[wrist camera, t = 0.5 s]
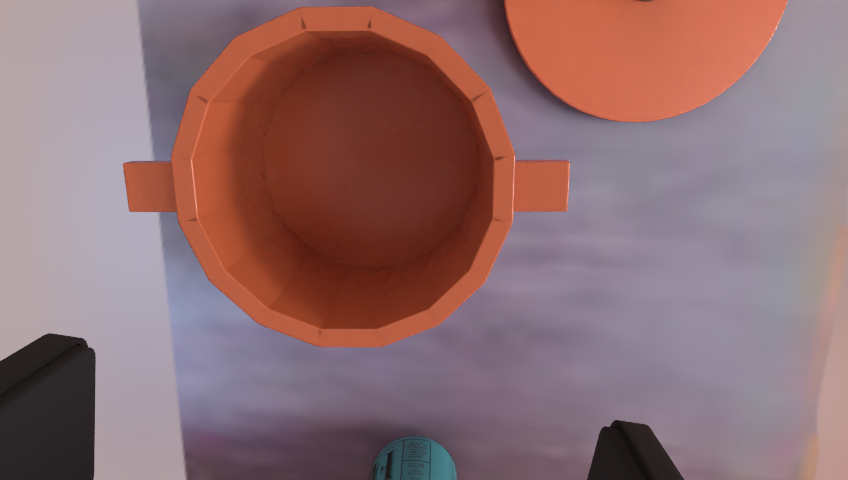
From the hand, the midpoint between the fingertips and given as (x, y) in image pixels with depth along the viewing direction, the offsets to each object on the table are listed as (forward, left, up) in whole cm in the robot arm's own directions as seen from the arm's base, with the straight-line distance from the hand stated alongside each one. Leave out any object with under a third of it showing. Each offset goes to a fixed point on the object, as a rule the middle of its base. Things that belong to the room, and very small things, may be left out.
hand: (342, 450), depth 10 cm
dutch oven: (0, -3, -28) cm, 29 cm away
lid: (-20, +1, -28) cm, 34 cm away
